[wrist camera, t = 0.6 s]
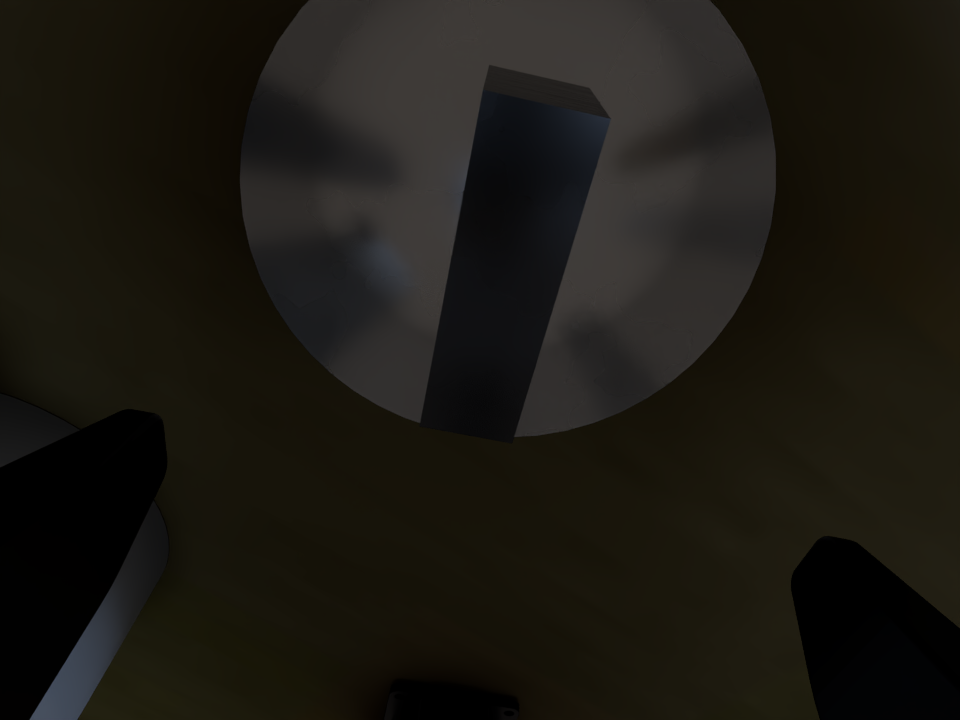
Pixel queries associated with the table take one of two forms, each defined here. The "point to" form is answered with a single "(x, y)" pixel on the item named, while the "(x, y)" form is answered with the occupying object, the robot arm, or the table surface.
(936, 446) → the table surface
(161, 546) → the pot
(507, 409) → the lid
